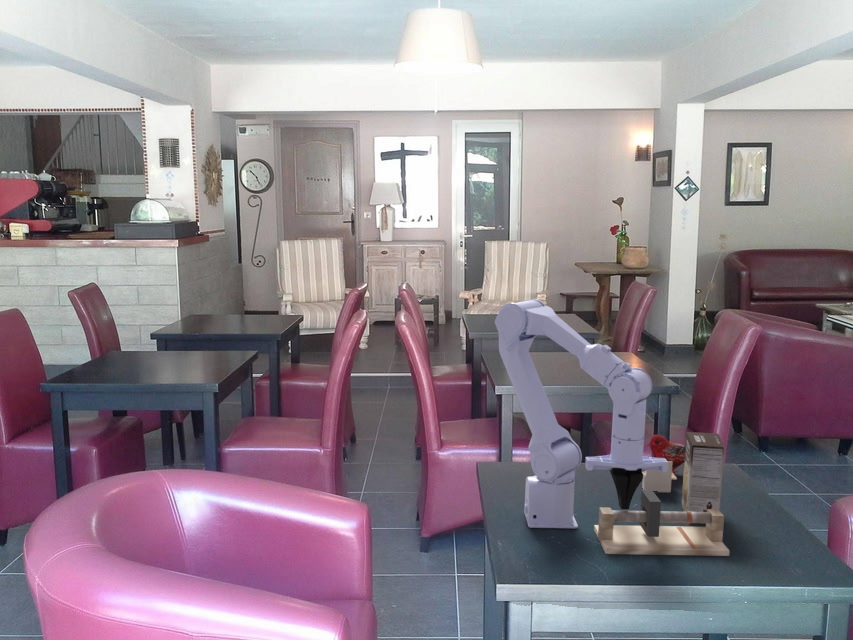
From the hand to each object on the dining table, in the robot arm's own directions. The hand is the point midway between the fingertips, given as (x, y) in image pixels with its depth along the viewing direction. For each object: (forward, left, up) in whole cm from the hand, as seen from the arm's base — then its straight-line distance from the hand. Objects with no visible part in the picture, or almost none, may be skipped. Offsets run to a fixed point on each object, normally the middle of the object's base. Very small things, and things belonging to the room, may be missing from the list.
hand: (623, 507), depth 139 cm
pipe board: (+7, 0, -7) cm, 10 cm away
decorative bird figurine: (+22, +37, -7) cm, 44 cm away
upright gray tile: (+5, 0, -4) cm, 7 cm away
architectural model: (+14, +26, -7) cm, 31 cm away
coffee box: (+19, +13, -7) cm, 24 cm away
